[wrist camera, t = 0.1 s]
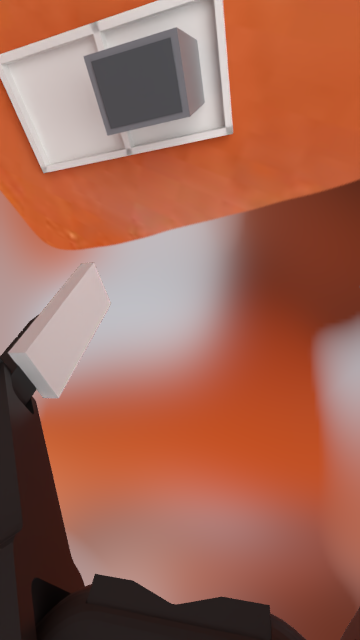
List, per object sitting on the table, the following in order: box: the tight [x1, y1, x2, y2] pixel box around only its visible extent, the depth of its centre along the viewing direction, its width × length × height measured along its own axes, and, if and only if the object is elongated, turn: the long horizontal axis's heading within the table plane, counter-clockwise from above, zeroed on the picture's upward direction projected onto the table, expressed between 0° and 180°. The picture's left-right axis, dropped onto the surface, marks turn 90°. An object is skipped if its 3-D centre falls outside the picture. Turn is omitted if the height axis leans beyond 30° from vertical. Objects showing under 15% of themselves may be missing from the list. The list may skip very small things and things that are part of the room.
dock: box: [0, 0, 233, 173], centre depth 28 cm, size 11×24×13 cm, turn 102°
